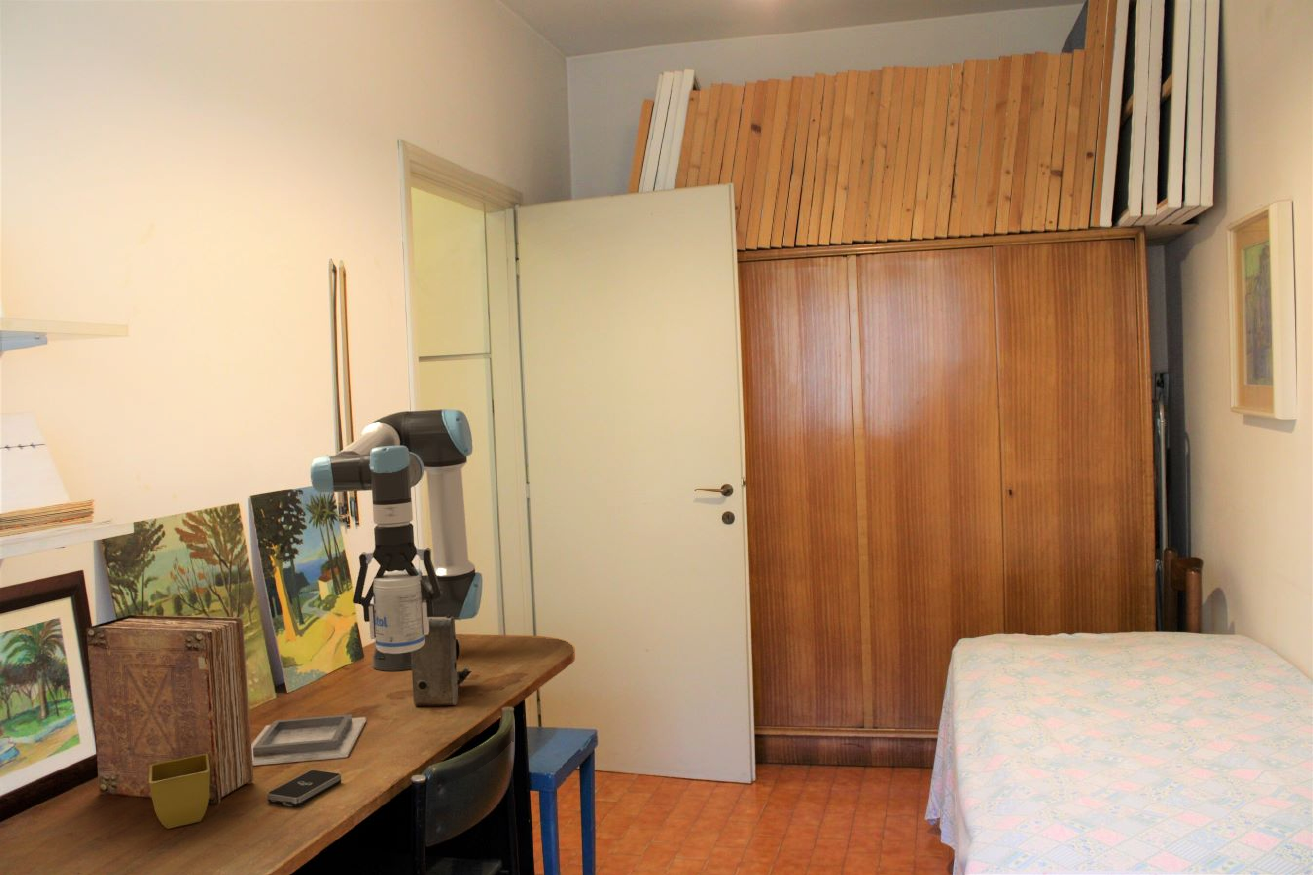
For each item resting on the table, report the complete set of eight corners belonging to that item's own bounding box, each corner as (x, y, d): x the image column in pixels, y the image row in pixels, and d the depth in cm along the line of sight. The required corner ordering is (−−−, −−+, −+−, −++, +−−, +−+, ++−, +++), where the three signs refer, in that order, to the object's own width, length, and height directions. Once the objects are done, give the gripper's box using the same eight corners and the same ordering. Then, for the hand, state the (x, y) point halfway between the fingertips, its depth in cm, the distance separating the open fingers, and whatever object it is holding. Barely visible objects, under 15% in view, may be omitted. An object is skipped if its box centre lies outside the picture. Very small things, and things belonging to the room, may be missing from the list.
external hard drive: (266, 805, 162) (265, 793, 162) (313, 779, 172) (312, 768, 172) (298, 810, 159) (297, 798, 159) (343, 784, 169) (342, 773, 169)
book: (255, 783, 171) (244, 617, 169) (218, 805, 162) (206, 630, 160) (139, 773, 177) (128, 614, 176) (98, 794, 169) (86, 626, 167)
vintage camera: (475, 687, 222) (470, 602, 222) (455, 707, 207) (449, 616, 207) (435, 688, 223) (430, 604, 223) (412, 708, 208) (406, 617, 208)
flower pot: (152, 838, 150) (148, 782, 150) (153, 817, 158) (149, 763, 158) (213, 824, 154) (210, 769, 154) (211, 804, 162) (208, 752, 162)
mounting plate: (266, 729, 198) (266, 717, 198) (365, 721, 201) (365, 709, 201) (237, 767, 178) (236, 753, 178) (347, 757, 181) (346, 743, 181)
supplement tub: (366, 650, 190) (362, 577, 189) (406, 639, 197) (402, 569, 196) (395, 657, 184) (391, 582, 183) (435, 645, 191) (431, 573, 190)
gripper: (331, 530, 184) (338, 644, 185) (449, 523, 187) (455, 635, 188) (339, 524, 191) (346, 634, 192) (452, 518, 194) (458, 626, 195)
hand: (400, 635), depth 190 cm, fingers closed on supplement tub, 10 cm apart
